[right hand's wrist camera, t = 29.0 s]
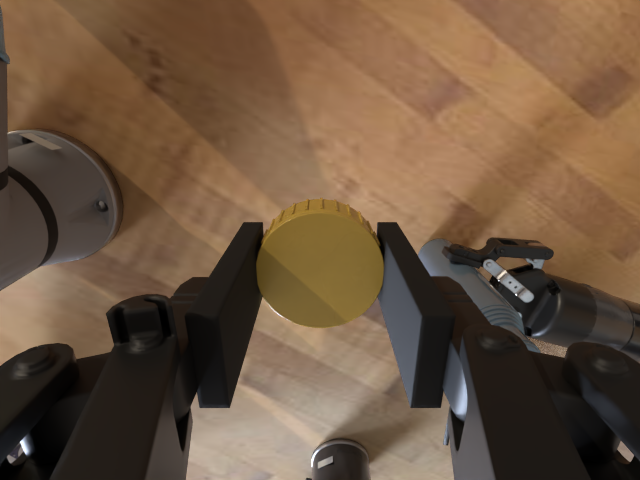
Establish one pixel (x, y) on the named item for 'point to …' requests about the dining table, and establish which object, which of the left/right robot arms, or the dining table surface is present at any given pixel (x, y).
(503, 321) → the bottle
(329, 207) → the cap
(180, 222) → the dining table surface
